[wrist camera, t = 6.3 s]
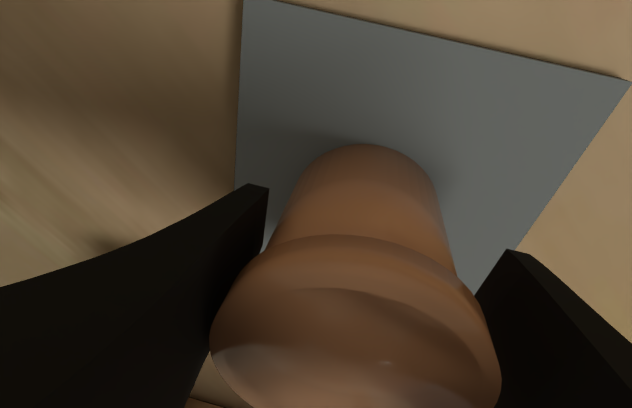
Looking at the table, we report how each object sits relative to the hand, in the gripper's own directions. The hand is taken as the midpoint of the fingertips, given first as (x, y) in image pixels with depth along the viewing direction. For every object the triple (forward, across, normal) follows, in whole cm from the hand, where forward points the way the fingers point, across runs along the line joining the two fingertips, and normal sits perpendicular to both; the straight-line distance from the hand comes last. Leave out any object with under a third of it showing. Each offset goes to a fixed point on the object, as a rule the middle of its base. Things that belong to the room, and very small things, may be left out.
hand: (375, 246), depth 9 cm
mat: (+3, 0, 0) cm, 3 cm away
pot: (+2, 0, +1) cm, 3 cm away
